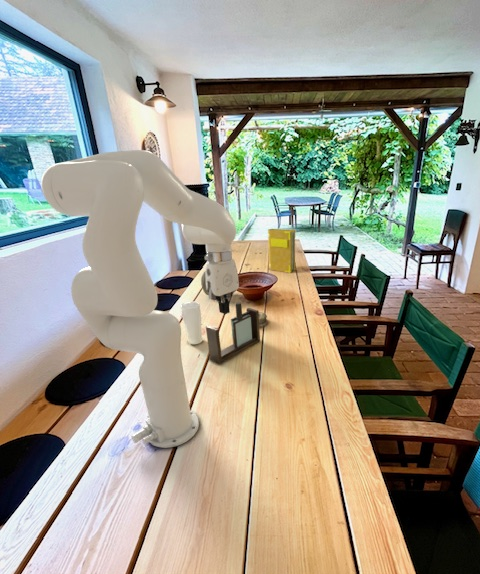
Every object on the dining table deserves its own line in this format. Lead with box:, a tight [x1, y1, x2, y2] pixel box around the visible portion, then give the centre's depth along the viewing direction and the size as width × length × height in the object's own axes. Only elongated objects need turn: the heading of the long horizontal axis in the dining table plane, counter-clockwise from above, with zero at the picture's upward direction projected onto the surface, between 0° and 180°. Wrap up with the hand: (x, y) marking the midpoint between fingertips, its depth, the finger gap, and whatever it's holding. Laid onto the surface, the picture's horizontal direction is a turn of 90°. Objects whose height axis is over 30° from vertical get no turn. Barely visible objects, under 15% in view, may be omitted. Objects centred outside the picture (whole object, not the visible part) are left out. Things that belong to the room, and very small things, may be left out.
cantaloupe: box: [200, 271, 209, 297], centre depth 164 cm, size 14×14×15 cm
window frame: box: [205, 307, 261, 365], centre depth 112 cm, size 20×5×12 cm, turn 139°
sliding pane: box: [232, 301, 252, 348], centre depth 112 cm, size 8×2×16 cm, turn 139°
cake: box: [259, 311, 268, 328], centre depth 134 cm, size 10×10×5 cm
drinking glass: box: [180, 301, 203, 345], centre depth 119 cm, size 7×7×15 cm
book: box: [267, 228, 296, 274], centre depth 202 cm, size 17×7×25 cm, turn 58°
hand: (224, 312), depth 104 cm, fingers closed
